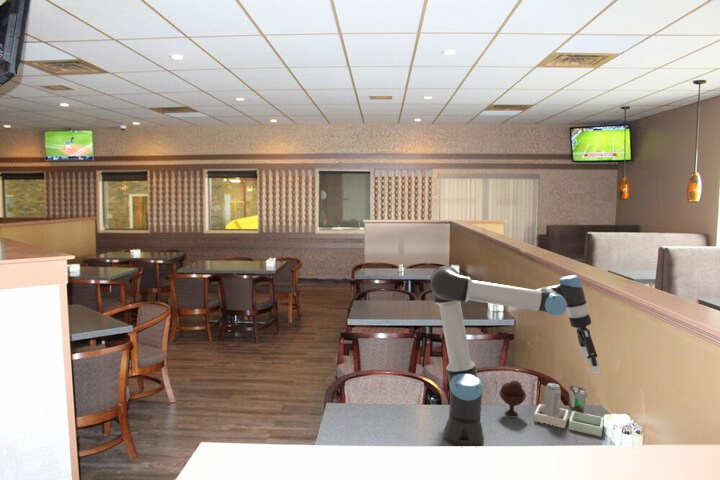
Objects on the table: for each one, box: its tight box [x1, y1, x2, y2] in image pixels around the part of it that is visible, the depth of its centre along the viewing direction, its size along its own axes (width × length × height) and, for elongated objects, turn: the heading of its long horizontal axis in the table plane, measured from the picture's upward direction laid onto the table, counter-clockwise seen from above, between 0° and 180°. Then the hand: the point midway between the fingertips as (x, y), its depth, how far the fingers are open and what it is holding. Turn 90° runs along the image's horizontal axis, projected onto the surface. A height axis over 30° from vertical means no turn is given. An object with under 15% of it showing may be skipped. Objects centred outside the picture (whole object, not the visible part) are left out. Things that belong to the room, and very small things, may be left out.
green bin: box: [568, 411, 605, 437], centre depth 209 cm, size 12×12×4 cm
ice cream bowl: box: [499, 380, 527, 417], centre depth 219 cm, size 11×11×15 cm
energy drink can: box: [543, 382, 562, 418], centre depth 215 cm, size 6×6×15 cm
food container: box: [568, 384, 589, 413], centre depth 224 cm, size 12×6×10 cm, turn 168°
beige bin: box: [533, 403, 570, 429], centre depth 215 cm, size 12×12×4 cm
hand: (592, 367), depth 198 cm, fingers open, 13 cm apart
